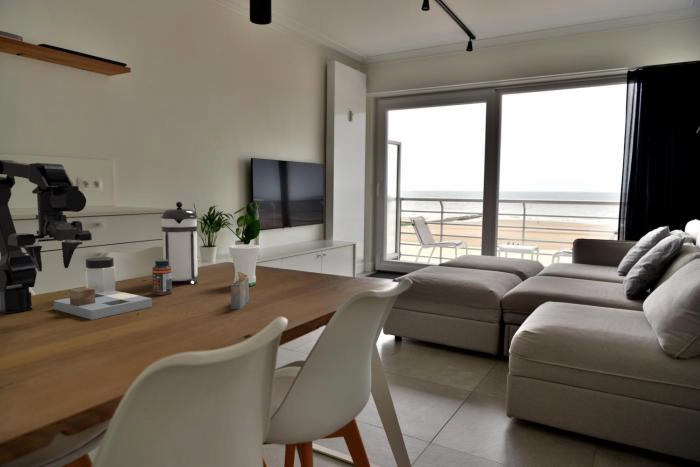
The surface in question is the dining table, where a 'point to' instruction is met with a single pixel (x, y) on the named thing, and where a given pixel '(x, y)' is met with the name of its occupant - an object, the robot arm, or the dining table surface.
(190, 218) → the coffee press
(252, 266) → the cup
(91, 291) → the walnut block
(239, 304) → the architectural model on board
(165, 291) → the supplement bottle
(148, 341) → the dining table surface
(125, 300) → the trap deck
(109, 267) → the jar
